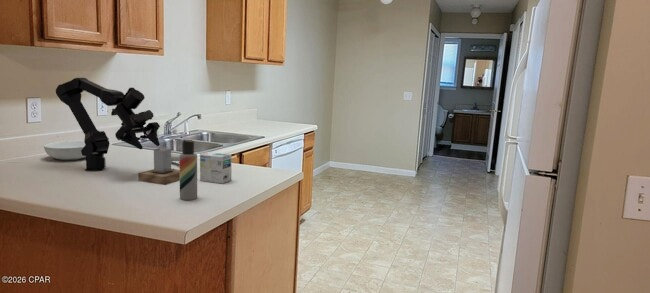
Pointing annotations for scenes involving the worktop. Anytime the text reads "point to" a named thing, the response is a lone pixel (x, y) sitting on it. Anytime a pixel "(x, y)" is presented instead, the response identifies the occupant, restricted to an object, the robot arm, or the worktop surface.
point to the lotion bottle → (188, 171)
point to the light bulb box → (215, 167)
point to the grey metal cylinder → (175, 157)
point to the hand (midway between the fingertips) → (150, 147)
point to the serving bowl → (65, 150)
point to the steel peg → (162, 161)
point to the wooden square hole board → (159, 177)
